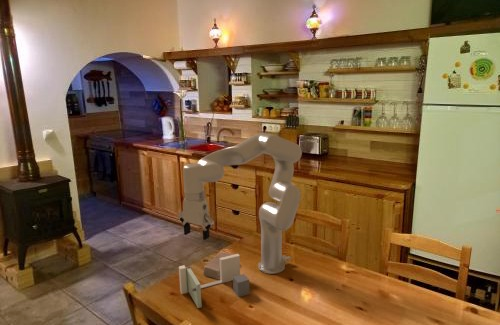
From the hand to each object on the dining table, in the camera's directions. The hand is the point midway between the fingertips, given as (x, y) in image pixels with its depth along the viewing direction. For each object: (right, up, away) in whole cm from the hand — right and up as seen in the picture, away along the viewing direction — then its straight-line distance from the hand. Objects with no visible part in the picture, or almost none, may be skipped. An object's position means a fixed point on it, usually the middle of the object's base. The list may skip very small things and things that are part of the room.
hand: (196, 236), depth 144 cm
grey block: (+18, -25, +6) cm, 31 cm away
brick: (+7, -21, +25) cm, 33 cm away
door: (-2, -25, +1) cm, 25 cm away
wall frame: (+5, -23, +11) cm, 26 cm away
